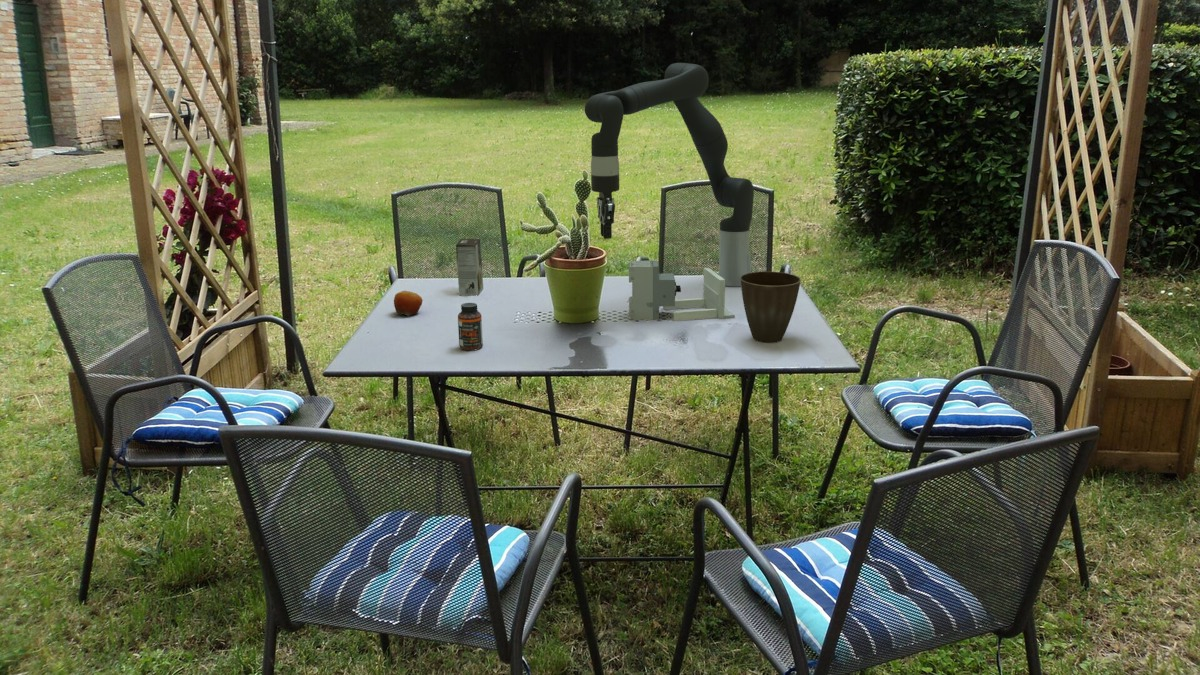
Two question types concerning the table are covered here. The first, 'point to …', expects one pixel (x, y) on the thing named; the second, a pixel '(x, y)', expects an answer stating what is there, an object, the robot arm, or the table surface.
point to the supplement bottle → (470, 327)
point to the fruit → (407, 303)
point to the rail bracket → (704, 301)
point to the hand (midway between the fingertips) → (606, 236)
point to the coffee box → (469, 267)
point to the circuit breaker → (650, 290)
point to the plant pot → (769, 303)
